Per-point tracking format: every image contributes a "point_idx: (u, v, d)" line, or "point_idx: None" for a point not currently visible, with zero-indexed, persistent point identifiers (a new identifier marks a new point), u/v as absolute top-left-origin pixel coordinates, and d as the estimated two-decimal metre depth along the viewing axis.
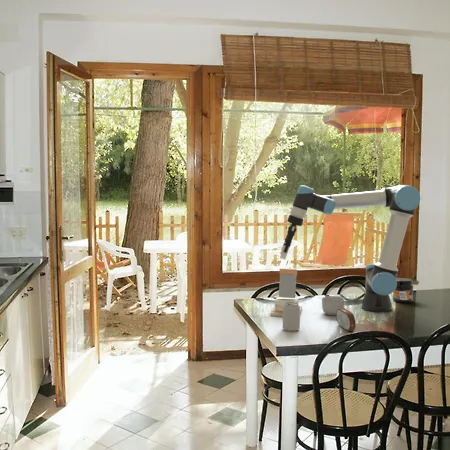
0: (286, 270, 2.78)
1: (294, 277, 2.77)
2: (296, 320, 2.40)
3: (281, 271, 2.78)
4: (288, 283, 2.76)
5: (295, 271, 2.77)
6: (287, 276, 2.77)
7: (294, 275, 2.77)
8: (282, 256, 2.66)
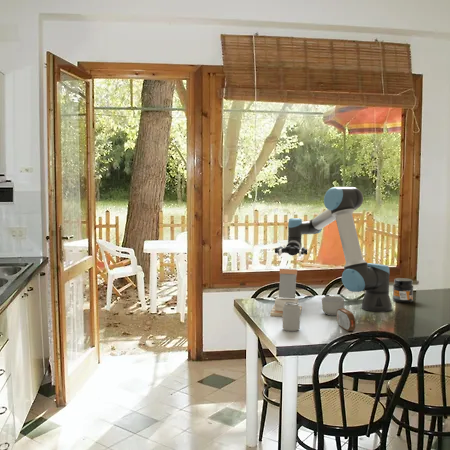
0: (286, 270, 2.78)
1: (294, 277, 2.77)
2: (296, 320, 2.40)
3: (281, 271, 2.78)
4: (288, 283, 2.76)
5: (295, 271, 2.77)
6: (287, 276, 2.77)
7: (294, 275, 2.77)
8: (279, 253, 2.86)
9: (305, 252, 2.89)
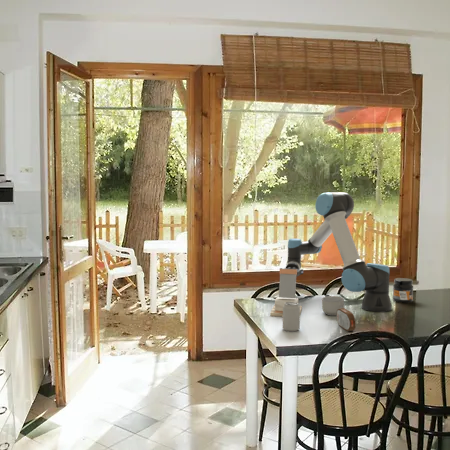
0: (286, 270, 2.78)
1: (294, 277, 2.77)
2: (296, 320, 2.40)
3: (281, 271, 2.78)
4: (288, 283, 2.76)
5: (295, 271, 2.77)
6: (287, 276, 2.77)
7: (294, 275, 2.77)
8: None
9: None
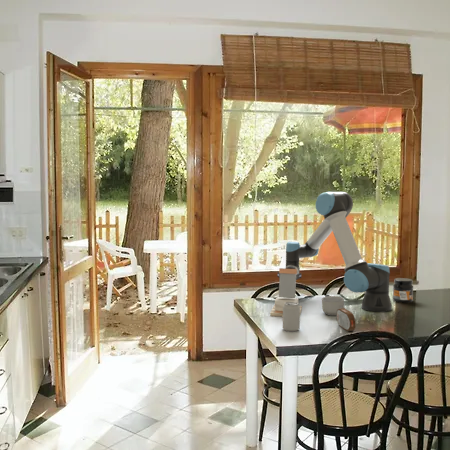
0: (286, 270, 2.77)
1: (294, 277, 2.75)
2: (296, 320, 2.40)
3: (281, 271, 2.77)
4: (288, 283, 2.75)
5: (295, 271, 2.76)
6: (287, 276, 2.76)
7: (294, 275, 2.76)
8: None
9: None
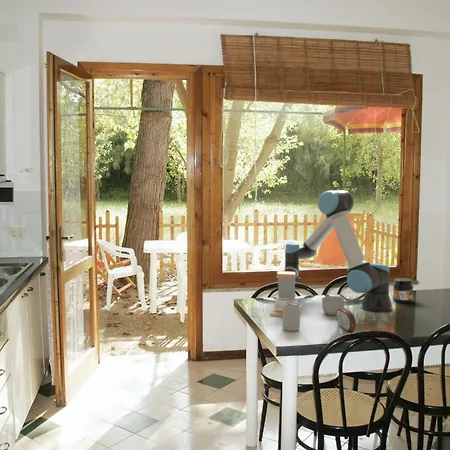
0: (284, 275, 2.67)
1: (293, 281, 2.68)
2: (296, 320, 2.40)
3: (279, 276, 2.68)
4: (287, 286, 2.70)
5: (293, 276, 2.66)
6: (285, 280, 2.69)
7: (292, 279, 2.68)
8: None
9: None
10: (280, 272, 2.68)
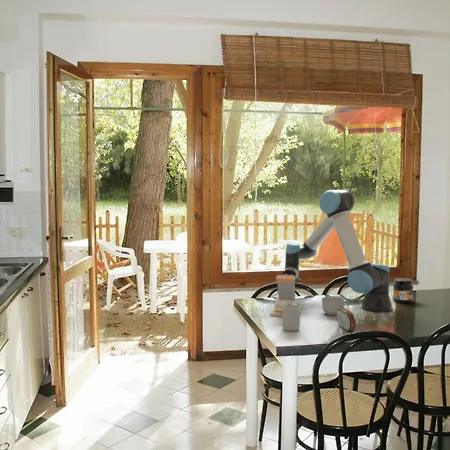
0: (283, 280, 2.64)
1: (292, 284, 2.66)
2: (296, 320, 2.40)
3: (278, 280, 2.65)
4: (287, 289, 2.69)
5: (293, 281, 2.64)
6: (285, 283, 2.67)
7: (292, 283, 2.65)
8: None
9: None
10: (279, 276, 2.66)
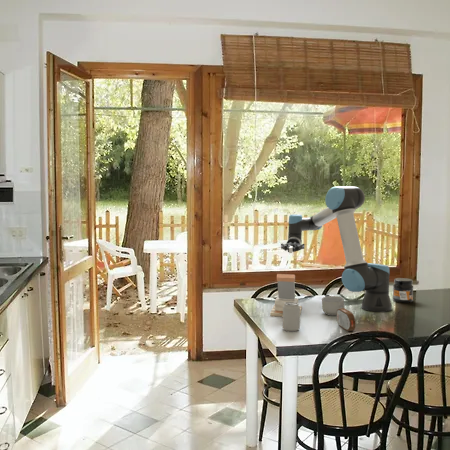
0: (283, 278, 2.65)
1: (292, 283, 2.67)
2: (296, 320, 2.40)
3: (278, 279, 2.66)
4: (287, 288, 2.69)
5: (293, 279, 2.64)
6: (285, 282, 2.67)
7: (292, 282, 2.66)
8: (289, 250, 2.83)
9: None
10: (279, 275, 2.66)
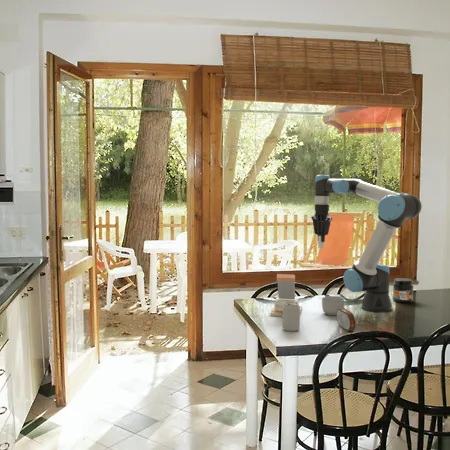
0: (283, 278, 2.65)
1: (292, 283, 2.67)
2: (296, 320, 2.40)
3: (278, 279, 2.66)
4: (287, 288, 2.69)
5: (293, 279, 2.64)
6: (285, 282, 2.67)
7: (292, 282, 2.66)
8: None
9: (325, 234, 2.94)
10: (279, 275, 2.66)
